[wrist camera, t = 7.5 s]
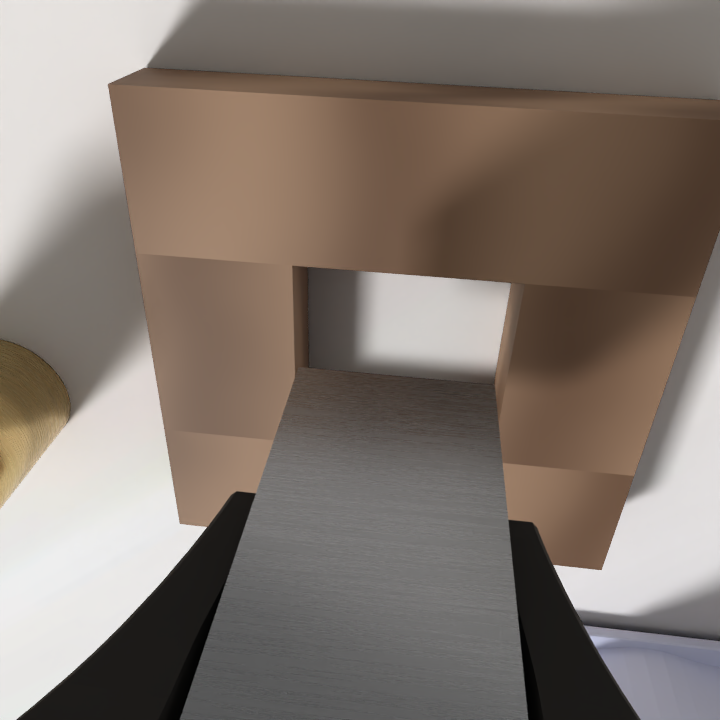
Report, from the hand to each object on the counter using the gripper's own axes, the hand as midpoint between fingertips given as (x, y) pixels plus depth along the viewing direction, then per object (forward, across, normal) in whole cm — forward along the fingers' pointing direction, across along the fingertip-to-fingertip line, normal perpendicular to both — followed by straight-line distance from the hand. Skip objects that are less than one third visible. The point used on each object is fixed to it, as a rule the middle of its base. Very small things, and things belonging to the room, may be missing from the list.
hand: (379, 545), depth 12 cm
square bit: (+3, 0, 0) cm, 3 cm away
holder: (+8, 0, 0) cm, 8 cm away
